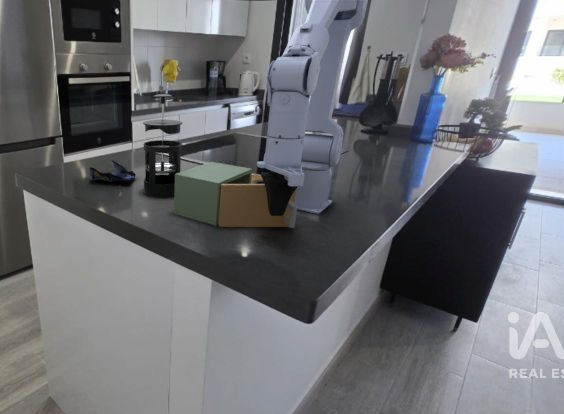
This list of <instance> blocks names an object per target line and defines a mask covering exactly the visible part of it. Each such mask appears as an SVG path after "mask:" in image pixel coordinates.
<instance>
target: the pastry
mask: <svg viewBox="0 0 564 414" xmlns="http://www.w3.org/2000/svg"><path fill="white" fill-rule="evenodd" d="M251 184H264V181H263V179H262V177H261V174H252V177H251Z"/></svg>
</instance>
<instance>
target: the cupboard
mask: <svg viewBox="0 0 564 414" xmlns="http://www.w3.org/2000/svg"><path fill="white" fill-rule="evenodd" d="M252 175H253V168H252V167H251V168H250V167H244V166H238V165H232V164H227V163H220V162H215V161H210V162H207V163H204V164H201V165H200V164H199V165H198V166H195V167H192V168H188V169H186V170H183V171H180V173H177V174H175V197H173V198H174V203H173V204H174V205H173V214H174V215H176V216H181V217H185V218H188V219H191V220H194V221H197V222H201V223H205V224H209V225H212V226H215V227H217V226H219V211H220V195H221V184H251V177H252Z"/></svg>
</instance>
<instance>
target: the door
mask: <svg viewBox="0 0 564 414" xmlns="http://www.w3.org/2000/svg"><path fill="white" fill-rule="evenodd" d="M296 190H297V189H296ZM296 190H295V191H294V193H293V194H292V196H291V198H290V200H289V203H288V205H287V208H286V210H285V213H284V215H283V216H271V215H270V213H269V209H268V200H267V193H266V188H265V184H221V195H220V211H219V224H218V227H219V228H291V229H294V228H295V225H296V219H297V212H298V210H297V206H296V205H295V197H296Z"/></svg>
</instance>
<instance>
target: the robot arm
mask: <svg viewBox="0 0 564 414" xmlns="http://www.w3.org/2000/svg"><path fill="white" fill-rule="evenodd" d="M368 2H369V0H304V6H305V11H306V14H307V16H306V19H305V22H304V23H302V24H300V25H298V26H297V27H296V28H295V29H294V31H293V33H292V34H291V37H290V39H289V41H288V43H287V45H286V47H285V49H284V51H283V53H282V55H281V56H278V57H277V58H276V60H272V61H271V62H270V64H269V67H268V69H267V76H266V91H267V101H266V103H267V106H268V107H269V112H268V113H269V114H268V122H267V132H266V142H265V153H264V154H263V161H262V160H261V161H259V160H258V161H256V166H257V167H258V168H259V169H266V170H269V172H268V171H267V172H266V171H265V172H264V171H263V172H261V173H260V175H261V177H262V179H263V181H264V184H265V188H266V193H267V200H268V209H269V213H270V215H271V216H283V215H284V213H285V210H286V208H287V205H288V203H289V200H290V198H291V196H292V194H293V193H294V191H295V190H296V189H297V190H296V197H295V205H296V206H297V211H302V212H307V213H311V214H315V215H319V214H321V213H322V212H323V211H324V210H325V209H327V208H328V207H329V206H331V204H333V200H331V199H329V196H330V189H331V183H332V178H333V174H332V170H331V168H334V167H335V166H337V165H338V164H339V162H340V159H341V155H342V151H343V144H344V143H343V142H344V141H343V140H344V135H345V133H344V129H343V128H342V127H341V125H340V124H338V122H336V121H335V120H334V119H333V118H332V117H333V113H334V109H335V102H336V97H337V93H338V88H339V84H340V77H341V73H342V68H343V63H344V58H345V53H346V48H347V44H348V41H349V38H350V36H351V33H352V31H353V30H356V29H357V28H358V27H360V26H362V24H363V20H364V19H365V18H366V17H365V16H366V11H367V7H368ZM327 134H328V135H327ZM329 134H330V135H329Z"/></svg>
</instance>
